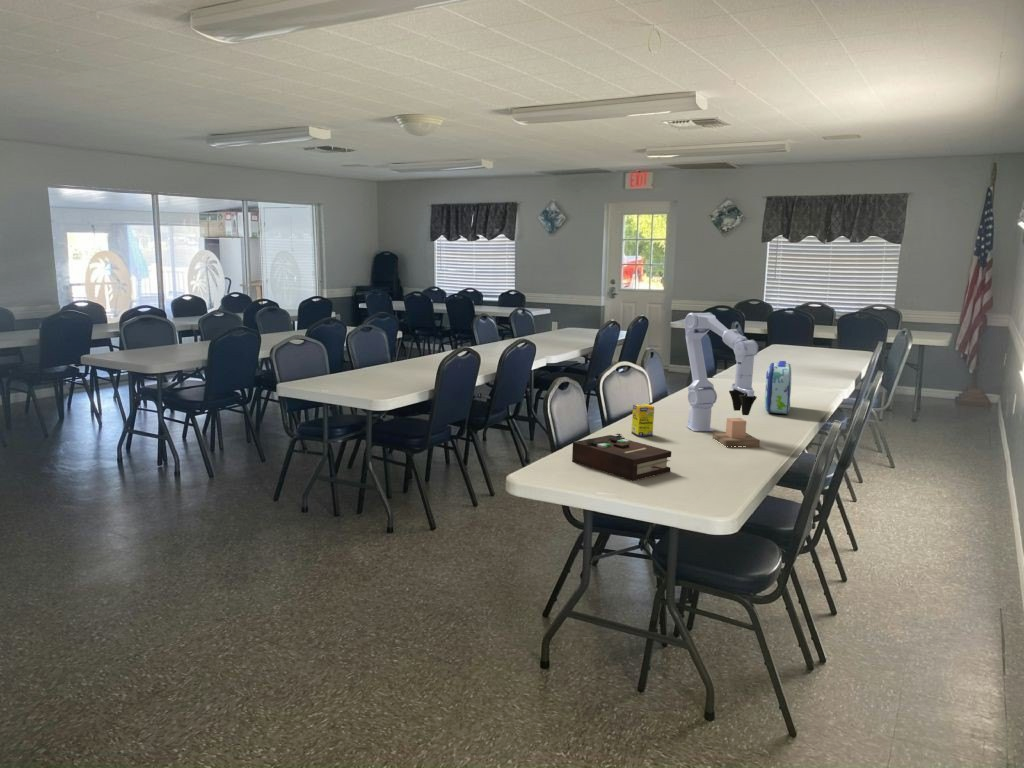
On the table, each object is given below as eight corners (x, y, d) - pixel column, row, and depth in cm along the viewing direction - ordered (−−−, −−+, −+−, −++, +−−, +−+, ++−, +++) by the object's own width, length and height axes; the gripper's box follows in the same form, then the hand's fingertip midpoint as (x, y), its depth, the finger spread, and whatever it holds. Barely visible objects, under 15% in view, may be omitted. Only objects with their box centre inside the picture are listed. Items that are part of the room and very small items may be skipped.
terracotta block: (725, 434, 268) (726, 418, 267) (739, 434, 268) (740, 418, 267) (731, 437, 263) (732, 421, 262) (745, 437, 263) (746, 421, 262)
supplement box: (638, 437, 271) (639, 407, 270) (631, 433, 277) (632, 404, 275) (653, 436, 273) (654, 406, 271) (645, 432, 279) (647, 403, 277)
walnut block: (712, 440, 271) (713, 432, 271) (744, 440, 273) (745, 432, 272) (725, 449, 259) (726, 440, 259) (759, 448, 261) (759, 440, 260)
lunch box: (764, 404, 340) (768, 357, 336) (789, 406, 336) (793, 359, 333) (762, 415, 316) (766, 365, 312) (789, 417, 312) (793, 367, 309)
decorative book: (637, 459, 214) (564, 438, 237) (636, 485, 215) (564, 461, 238) (680, 449, 226) (607, 430, 249) (679, 474, 227) (606, 452, 250)
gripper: (725, 371, 271) (722, 408, 274) (741, 378, 257) (738, 417, 259) (744, 371, 272) (741, 408, 274) (761, 378, 258) (758, 417, 260)
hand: (741, 412), depth 267 cm, fingers open, 7 cm apart
